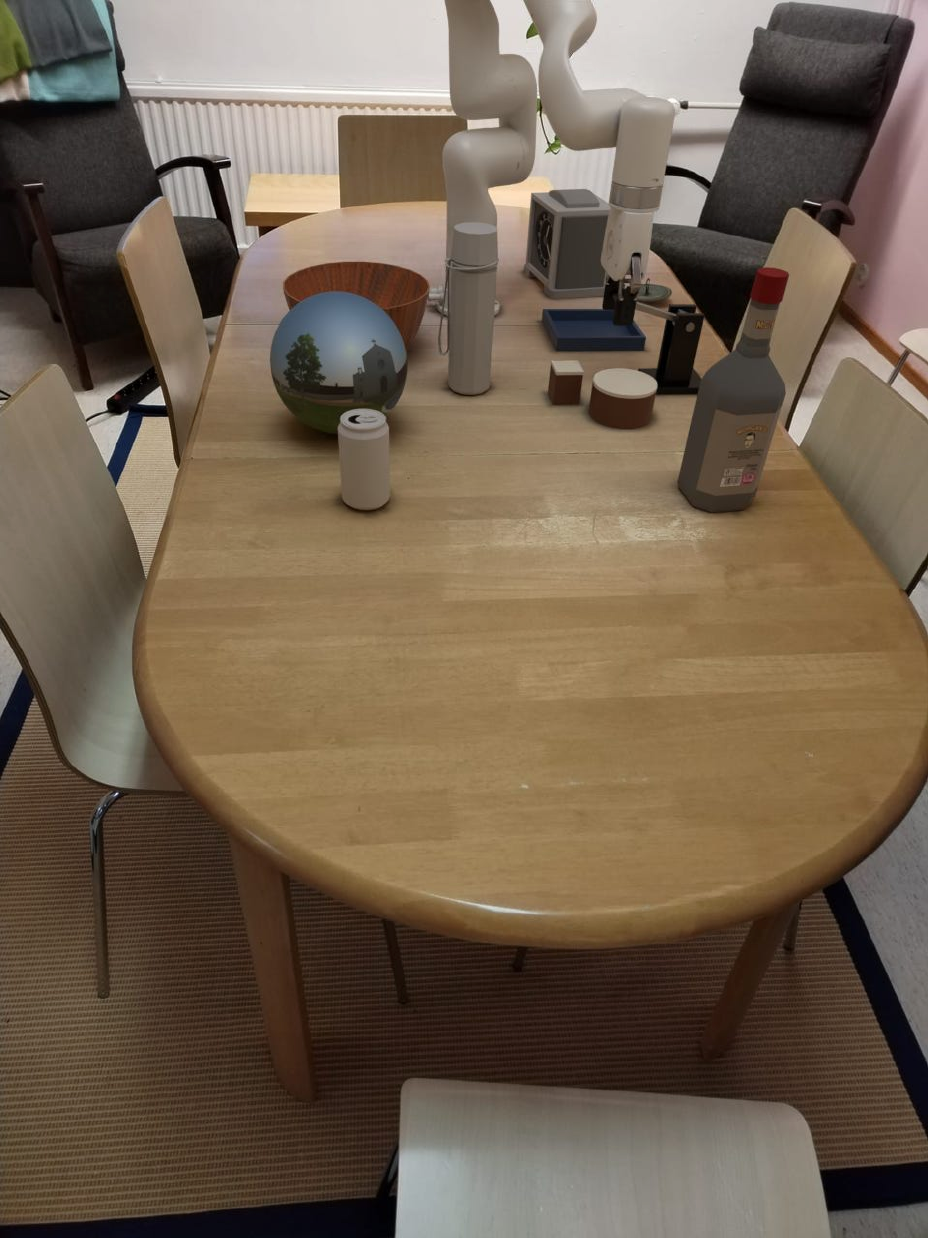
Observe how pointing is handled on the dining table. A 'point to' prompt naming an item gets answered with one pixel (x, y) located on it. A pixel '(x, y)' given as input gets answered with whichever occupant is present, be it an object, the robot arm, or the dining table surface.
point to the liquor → (737, 410)
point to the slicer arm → (650, 308)
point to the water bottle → (470, 307)
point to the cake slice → (565, 382)
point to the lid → (653, 293)
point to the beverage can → (364, 458)
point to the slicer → (678, 353)
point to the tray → (590, 331)
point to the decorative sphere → (337, 359)
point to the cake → (622, 398)
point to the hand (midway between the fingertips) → (617, 315)
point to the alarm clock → (567, 242)
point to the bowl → (367, 289)
